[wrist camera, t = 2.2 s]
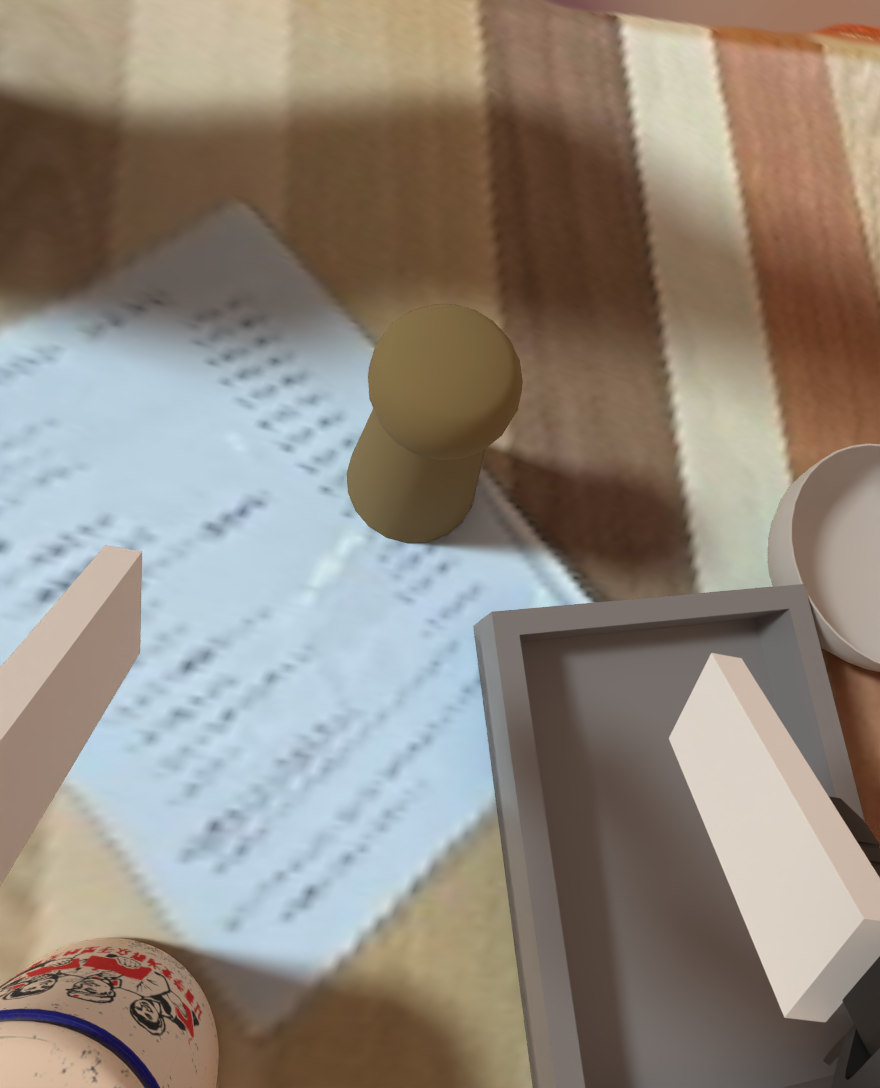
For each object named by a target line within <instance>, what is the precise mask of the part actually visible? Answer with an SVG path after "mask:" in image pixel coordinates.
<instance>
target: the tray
mask: <svg viewBox="0 0 880 1088" xmlns="http://www.w3.org/2000/svg"><path fill="white" fill-rule="evenodd" d="M473 627H474V634H475V642H476V650H477V658H478V665H479V673H480V681H481V689H482V696H483V704H484V712H485V720H486V727H487V735H488V743H489V751H490V759H491V766H492V774H493V782H494V790H495V797H496V805H497V813H498V821H499V828H500V836H501V844H502V852H503V859H504V867H505V875H506V883H507V891H508V898H509V906H510V914H511V922H512V929H513V937H514V945H515V953H516V960H517V968H518V976H519V984H520V991H521V999H522V1007H523V1015H524V1023H525V1030H526V1038H527V1046H528V1054H529V1061H530V1069H531V1077H532V1085H533V1088H831V1086H832V1082H833V1078H834V1074H835V1071H836V1067H837V1063H838V1059H839V1058H836V1059H835V1060H834V1061H833V1062H832V1063H831V1065H830V1066H829V1065H828V1064H827V1063H825V1062H824V1061H823V1059H824V1058H825V1056H826V1055H827V1053H828V1052H829V1051H830V1050H831V1049H832V1047H833V1046H834V1045H835V1044H836V1043H837V1042H838V1041H839V1040H840V1038H841V1037H842V1036H843V1035H844V1034H845V1033H846V1032H847V1031H848V1030H849V1028H850V1027H851V1026H852V1025H853V1024H854V1023H853V1021H852V1019H851V1017H850V1015H849V1013H848V1011H847V1009H846V1007H845V1005H844V1003H842V1004H841V1005H840V1006H839V1007H838V1009H837V1010H836V1011H835V1012H834V1013H833V1014H832V1015H831V1017H830V1018H829V1019H828V1020H827V1021H826V1022H817V1021H808V1020H800V1019H791V1018H784V1015H783V1013H782V1011H781V1008H780V1006H779V1003H778V1001H777V998H776V996H775V994H774V991H773V989H772V986H771V984H770V982H769V979H768V977H767V974H766V972H765V970H764V967H763V965H762V962H761V960H760V957H759V955H758V953H757V950H756V948H755V945H754V943H753V941H752V938H751V936H750V933H749V931H748V929H747V926H746V924H745V921H744V919H743V916H742V914H741V912H740V909H739V907H738V904H737V902H736V900H735V897H734V895H733V892H732V890H731V887H730V885H729V883H728V880H727V878H726V875H725V873H724V871H723V868H722V866H721V863H720V861H719V859H718V856H717V854H716V851H715V849H714V846H713V844H712V842H711V839H710V837H709V834H708V832H707V830H706V827H705V825H704V822H703V820H702V818H701V815H700V813H699V810H698V808H697V805H696V803H695V801H694V798H693V796H692V793H691V791H690V789H689V786H688V784H687V781H686V779H685V777H684V774H683V772H682V769H681V767H680V764H679V762H678V760H677V757H676V755H675V752H674V750H673V748H672V745H671V743H670V740H669V737H670V735H671V733H672V731H673V729H674V727H675V725H676V723H677V721H678V719H679V717H680V715H681V713H682V711H683V709H684V707H685V705H686V703H687V701H688V699H689V697H690V695H691V693H692V691H693V689H694V687H695V685H696V683H697V681H698V679H699V677H700V675H701V673H702V671H703V669H704V667H705V665H706V663H707V661H708V658H709V656H710V654H711V653H715V654H720V655H726V656H732V657H737V658H742V660H743V662H744V663H745V665H746V666H747V668H748V669H749V671H750V673H751V674H752V676H753V677H754V679H755V681H756V682H757V684H758V685H759V687H760V689H761V690H762V692H763V693H764V695H765V696H766V698H767V700H768V701H769V703H770V704H771V706H772V708H773V709H774V711H775V712H776V714H777V716H778V717H779V719H780V720H781V722H782V723H783V725H784V727H785V728H786V730H787V731H788V733H789V735H790V736H791V738H792V739H793V741H794V743H795V744H796V746H797V747H798V749H799V750H800V752H801V754H802V755H803V757H804V758H805V760H806V762H807V763H808V765H809V766H810V768H811V770H812V771H813V773H814V774H815V776H816V777H817V779H818V781H819V782H820V784H821V785H822V787H823V789H824V790H825V792H826V793H827V795H828V796H830V797H836V798H841V799H842V800H843V801H844V802H845V803H846V804H847V805H848V806H849V807H850V808H851V809H852V810H853V811H854V812H855V813H856V814H858V815H859V816H860V817H861V818H862V819H863V820H864V816H863V812H862V808H861V804H860V800H859V796H858V792H857V788H856V784H855V780H854V777H853V773H852V769H851V765H850V761H849V757H848V753H847V749H846V745H845V741H844V737H843V733H842V729H841V725H840V722H839V718H838V714H837V710H836V706H835V702H834V698H833V694H832V690H831V686H830V682H829V678H828V674H827V670H826V667H825V663H824V659H823V655H822V651H821V647H820V643H819V639H818V635H817V631H816V627H815V623H814V619H813V615H812V612H811V608H810V604H809V600H808V596H807V592H806V588H805V584H798V585H787V586H776V587H765V588H753V589H742V590H731V591H720V592H709V593H698V594H687V595H675V596H664V597H653V598H642V599H631V600H620V601H609V602H597V603H586V604H575V605H564V606H553V607H542V608H530V609H519V610H508V611H497V612H491V613H490V614H488V615H487V616H486V617H484V618H483V619H482V620H481V621H479V622H478V623H477V624H476V625H474V626H473ZM864 822H865V820H864Z"/></svg>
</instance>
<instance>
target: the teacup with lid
mask: <svg viewBox="0 0 880 1088" xmlns="http://www.w3.org/2000/svg"><path fill="white" fill-rule="evenodd" d="M218 1065H219V1047H218V1037H217V1030H216V1025H215V1021H214V1017H213V1014H212V1011H211V1008H210V1005H209V1003H208V1001H207V999H206V996H205V994H204V993H203V991H202V989H201V988H200V986H199V984H198V983H197V982H196V980H195V979H194V977H193V976H192V975H191V974H190V973H189V972H188V970H187V969H186V968H185V967H184V966H183V965H181V964H180V963H179V962H178V961H177V960H176V959H174V958H173V957H171V956H170V955H168V954H167V953H165V952H164V951H162V950H160V949H158V948H156V947H154V946H151V945H148V944H146V943H143V942H139V941H135V940H129V939H123V938H99V939H92V940H86V941H81V942H78V943H74V944H71V945H68V946H65V947H63V948H60V949H57V950H55V951H53V952H51V953H49V954H47V955H45V956H43V957H41V958H40V959H38V960H36V961H35V962H33V963H32V964H30V965H29V966H27V967H26V968H25V969H23V970H22V971H20V972H19V973H18V974H16V975H15V976H14V977H12V978H11V979H10V980H8V981H7V982H6V983H4V984H3V985H2V986H0V1088H216V1084H217V1077H218Z"/></svg>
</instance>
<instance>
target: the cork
mask: <svg viewBox="0 0 880 1088" xmlns="http://www.w3.org/2000/svg"><path fill="white" fill-rule="evenodd" d="M368 383H369V396H370V401H371V403H372V406H373V411H372V413H371V415H370V417H369V419H368V421H367V423H366V426H365V428H364V430H363V432H362V434H361V436H360V439H359V441H358V443H357V445H356V447H355V449H354V452H353V454H352V457H351V460H350V464H349V467H348V471H347V484H348V494H349V496H350V498H351V501H352V503H353V506H354V508H355V510H356V512H357V513H358V514H359V515H360V517H361V518H362V519H363V520H364V521H365V522H366V524H367V525H368V526H369V527H371V528H372V529H374V530H375V531H377V532H379V533H380V534H382V535H383V536H385V537H387V538H390V539H394V540H398V541H402V542H405V543H418V542H429V541H432V540H435V539H437V538H440V537H443V536H445V535H447V534H449V533H450V532H451V531H452V530H454V529H455V528H456V527H457V526H458V525H460V524H461V523H462V522H463V520H464V519H465V517H466V515H467V514H468V512H469V510H470V509H471V507H472V504H473V499H474V495H475V491H476V486H477V482H478V477H479V473H480V468H481V464H482V459H483V455H484V450H485V448H486V447H488V446H489V445H490V444H492V443H493V442H494V441H495V440H497V439H498V438H499V437H500V436H502V434H503V433H504V431H505V429H506V428H507V426H508V425H509V423H510V421H511V420H512V418H513V417H514V415H515V413H516V412H517V410H518V406H519V401H520V396H521V391H522V374H521V366H520V360H519V358H518V356H517V354H516V352H515V350H514V348H513V345H512V343H511V341H510V340H509V338H508V337H507V336H506V335H505V334H504V332H503V331H502V330H501V329H500V328H499V327H498V326H497V325H496V324H495V323H494V322H493V321H492V320H490V319H489V318H487V317H485V316H484V315H482V314H481V313H479V312H477V311H476V310H472V309H469V308H466V307H462V306H459V305H450V304H434V305H431V306H427V307H424V308H420V309H417V310H413V311H410V312H408V313H407V314H405V315H404V316H402V317H401V318H399V319H398V320H396V321H395V322H393V323H392V324H391V326H390V327H389V328H388V330H387V331H386V332H385V334H384V335H383V336H382V338H381V339H380V340H379V342H378V343H377V345H376V347H375V349H374V352H373V356H372V359H371V363H370V366H369V373H368Z"/></svg>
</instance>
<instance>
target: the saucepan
mask: <svg viewBox="0 0 880 1088" xmlns="http://www.w3.org/2000/svg"><path fill="white" fill-rule="evenodd" d="M768 568H769V574H770V579H771V582H772V585H773V587H776V586H787V585H798V584H805V588H806V592H807V596H808V600H809V604H810V608H811V612H812V615H813V619H814V623H815V627H816V631H817V635H818V639H819V643H820V647H822V648H823V649H825V650H826V651H828V652H830V653H831V654H833V655H835V656H837V657H838V658H840V659H842V660H844V661H846V662H848V663H851V664H853V665H856V666H859V667H861V668H864V669H867V670H872V671H877V672H880V444H862V445H854V446H849V447H846V448H844V449H841V450H838V451H835V452H833V453H832V454H830V455H829V456H827V457H825V458H824V459H822V460H820V461H819V462H818V463H817V464H815V465H814V466H812V467H810V468H809V469H808V470H807V471H806V472H804V473H803V474H802V475H801V476H800V477H799V478H798V479H797V480H796V481H795V482H794V483H793V484H792V485H791V486H790V487H789V488H788V490H787V491H786V493H785V494H784V496H783V497H782V499H781V501H780V503H779V505H778V508H777V510H776V513H775V515H774V518H773V520H772V523H771V528H770V533H769V538H768Z"/></svg>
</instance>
